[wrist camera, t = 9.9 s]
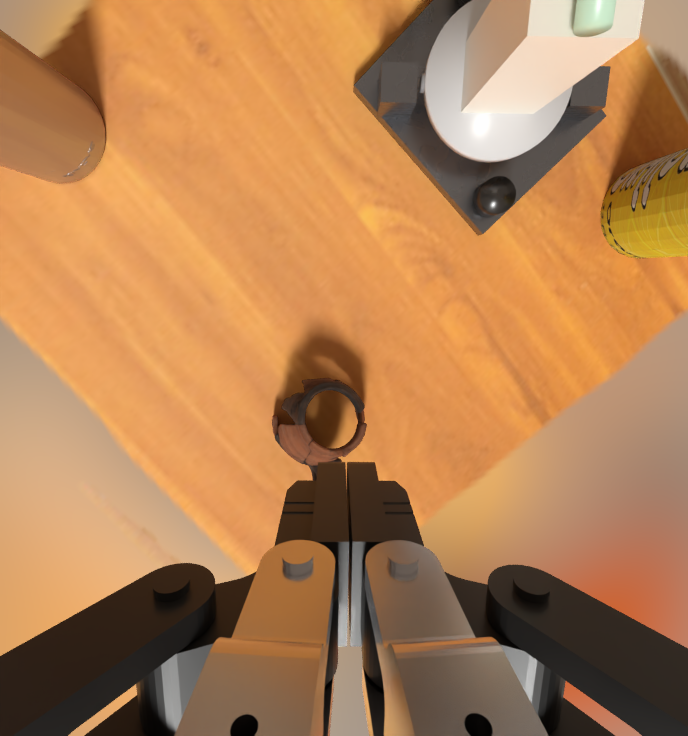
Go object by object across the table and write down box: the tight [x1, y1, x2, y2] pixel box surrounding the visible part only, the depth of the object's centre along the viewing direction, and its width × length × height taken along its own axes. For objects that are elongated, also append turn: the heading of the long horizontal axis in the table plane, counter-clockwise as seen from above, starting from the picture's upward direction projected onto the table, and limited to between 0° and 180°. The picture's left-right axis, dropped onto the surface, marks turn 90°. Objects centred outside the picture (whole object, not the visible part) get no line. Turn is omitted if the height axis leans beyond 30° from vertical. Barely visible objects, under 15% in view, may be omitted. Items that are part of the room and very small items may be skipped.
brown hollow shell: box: [272, 378, 367, 481], centre depth 45 cm, size 12×10×8 cm
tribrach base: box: [353, 0, 610, 235], centre depth 39 cm, size 18×16×5 cm
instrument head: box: [419, 0, 645, 163], centre depth 29 cm, size 12×12×17 cm
